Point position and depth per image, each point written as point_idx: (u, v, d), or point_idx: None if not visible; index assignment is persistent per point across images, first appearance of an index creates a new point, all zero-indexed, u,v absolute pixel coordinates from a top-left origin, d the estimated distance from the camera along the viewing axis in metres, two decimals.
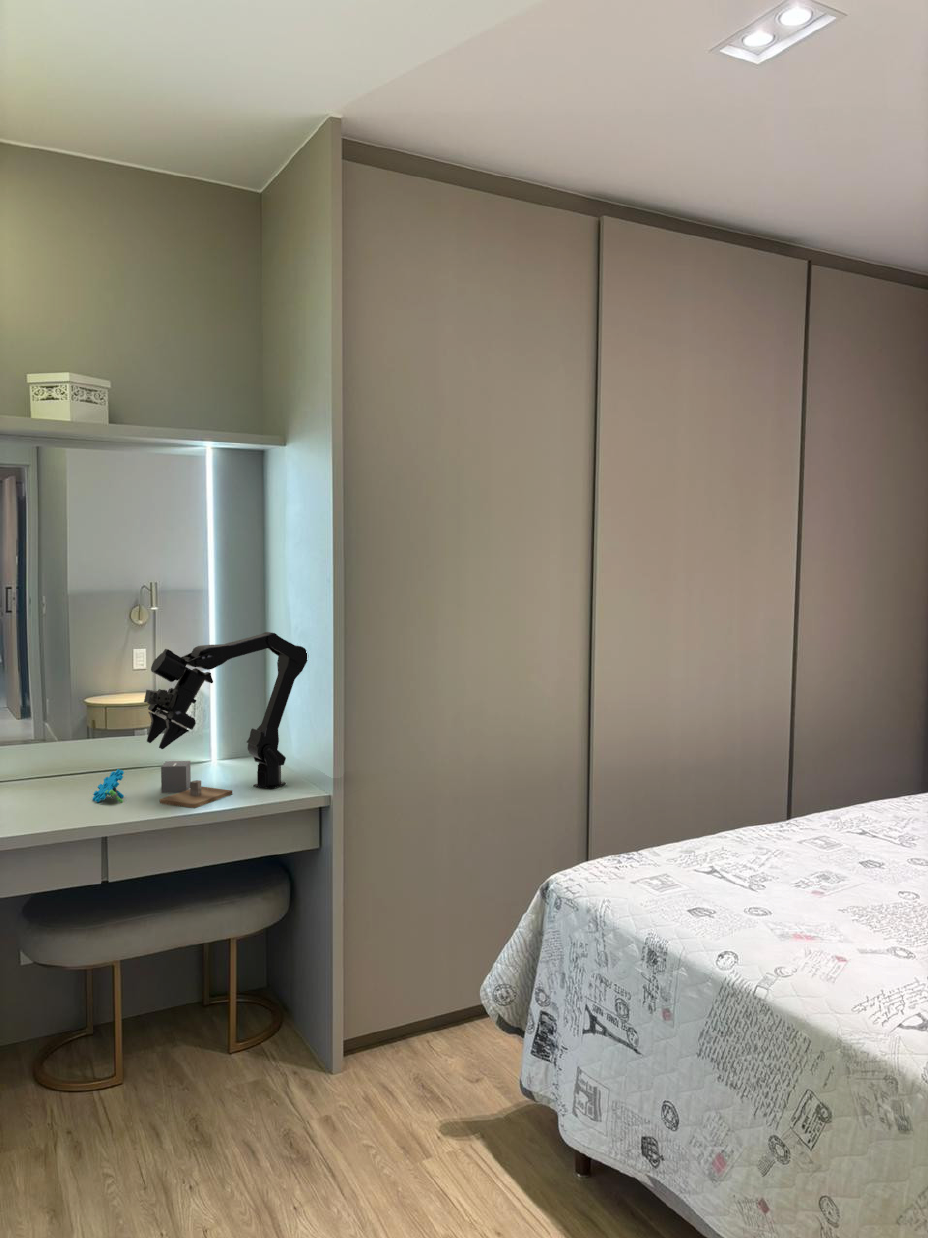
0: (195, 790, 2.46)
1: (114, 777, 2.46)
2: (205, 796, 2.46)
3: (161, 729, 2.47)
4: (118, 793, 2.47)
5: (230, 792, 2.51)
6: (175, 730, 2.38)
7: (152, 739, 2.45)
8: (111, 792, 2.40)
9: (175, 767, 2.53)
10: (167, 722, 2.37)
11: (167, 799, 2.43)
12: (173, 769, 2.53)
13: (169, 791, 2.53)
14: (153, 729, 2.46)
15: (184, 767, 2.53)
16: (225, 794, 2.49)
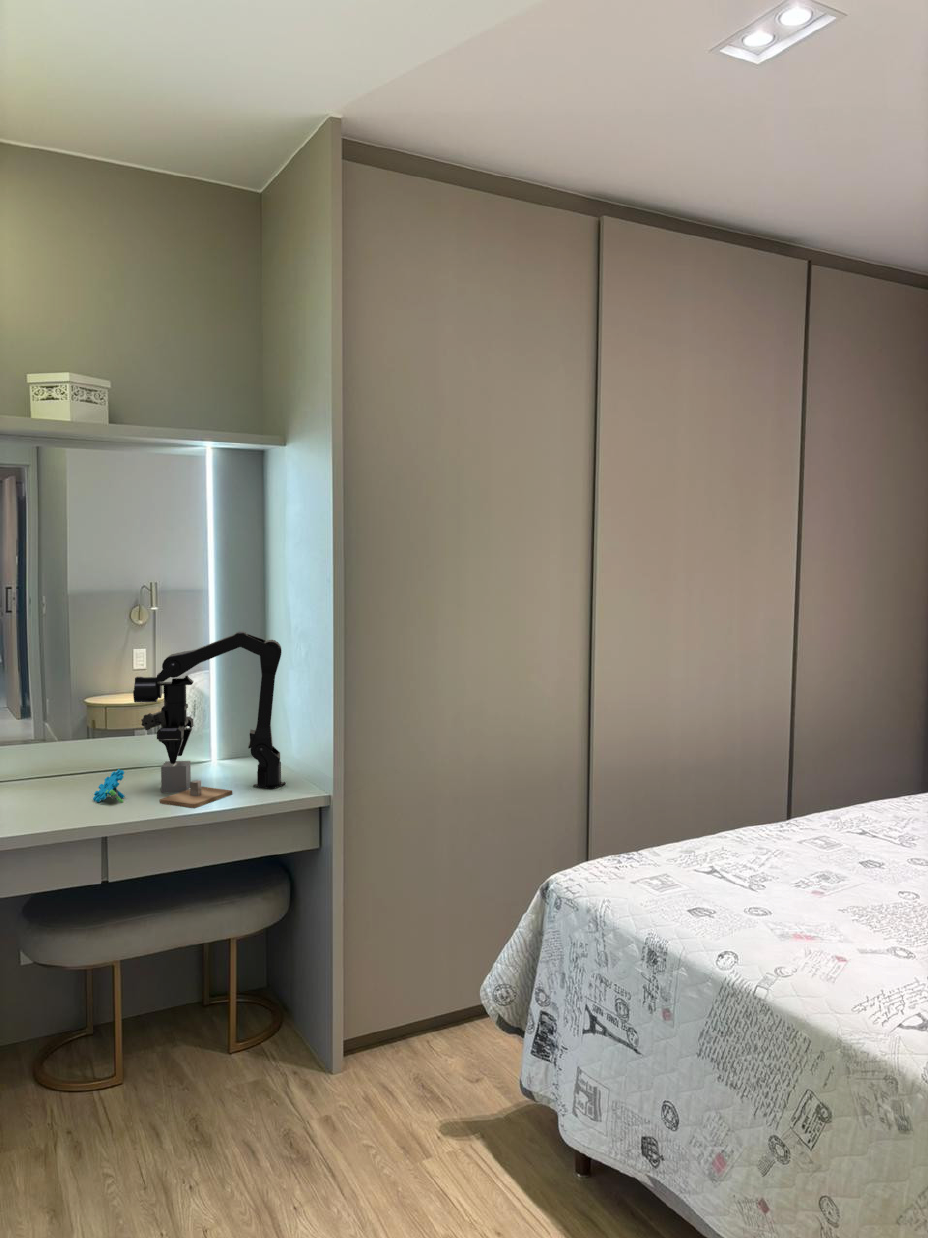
0: (195, 790, 2.46)
1: (115, 777, 2.46)
2: (205, 796, 2.46)
3: (185, 740, 2.61)
4: (119, 793, 2.47)
5: (230, 792, 2.51)
6: (173, 743, 2.50)
7: (181, 752, 2.60)
8: (111, 792, 2.40)
9: (175, 767, 2.53)
10: None
11: (167, 799, 2.43)
12: (173, 769, 2.53)
13: (169, 791, 2.53)
14: None
15: (184, 767, 2.53)
16: (225, 794, 2.49)
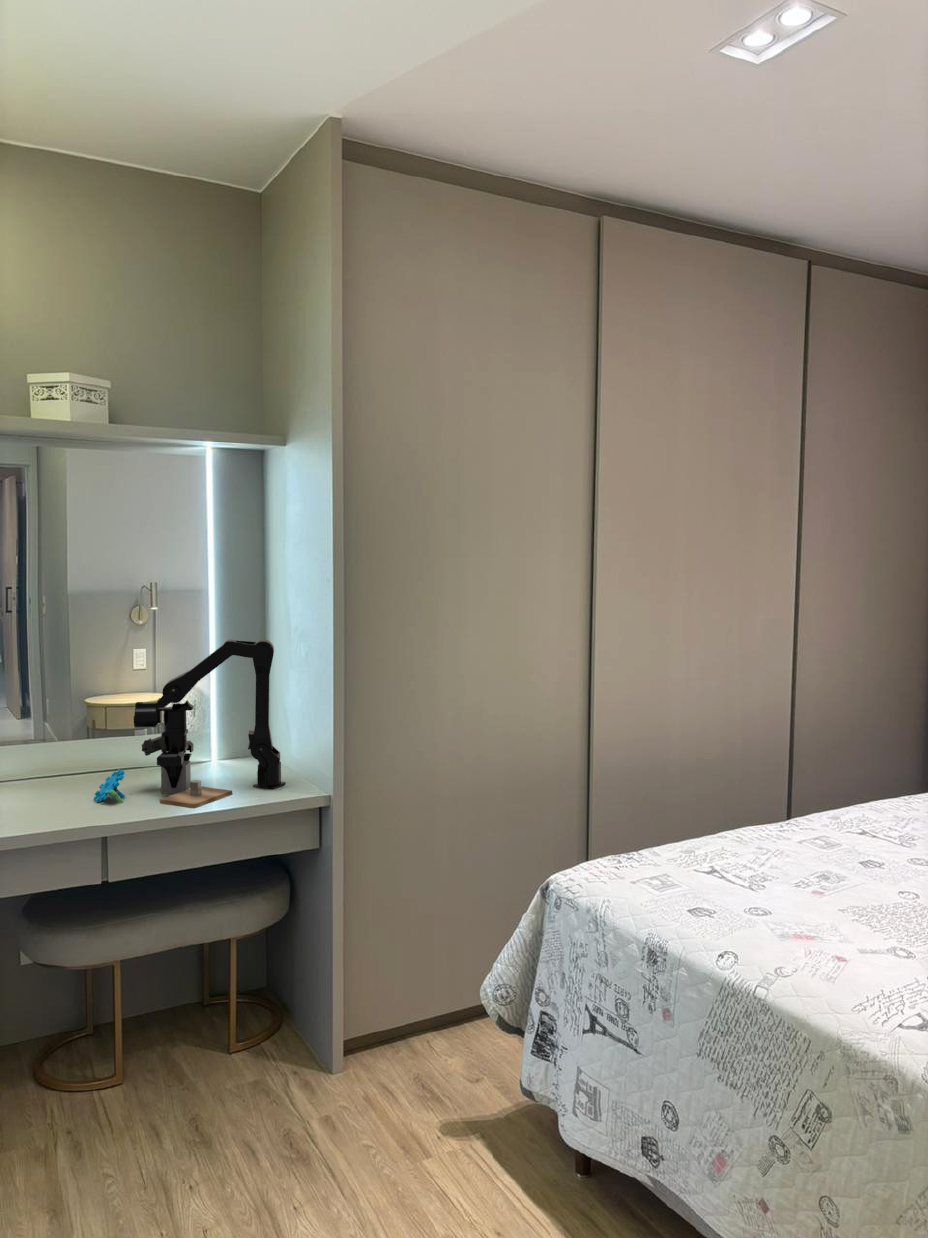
0: (195, 790, 2.46)
1: (115, 777, 2.46)
2: (205, 796, 2.46)
3: None
4: (119, 793, 2.47)
5: (230, 792, 2.51)
6: (174, 768, 2.52)
7: None
8: (111, 792, 2.40)
9: None
10: None
11: (167, 799, 2.43)
12: None
13: (169, 791, 2.53)
14: None
15: (184, 767, 2.53)
16: (225, 794, 2.49)
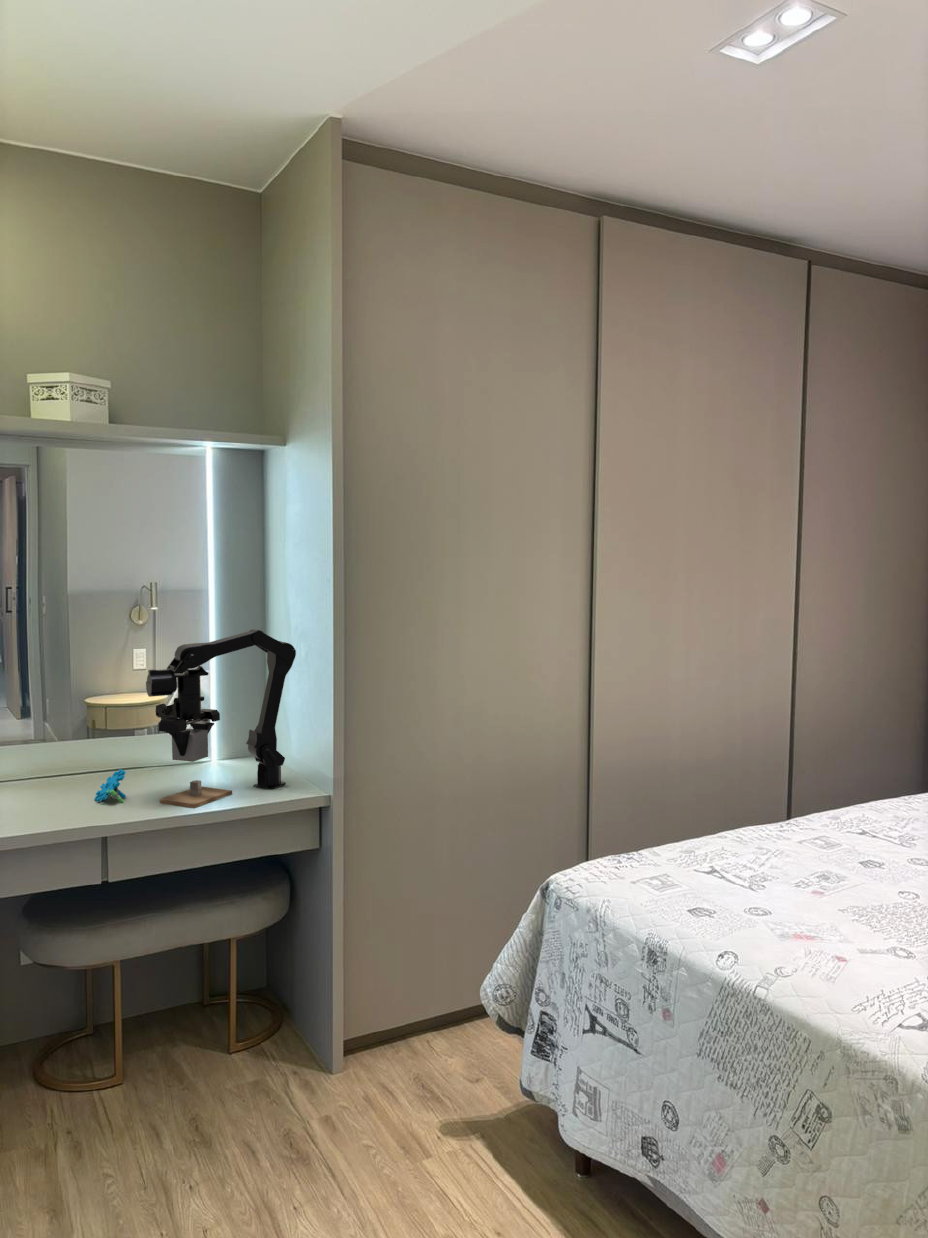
0: (195, 790, 2.46)
1: (116, 777, 2.46)
2: (205, 796, 2.46)
3: None
4: (120, 793, 2.47)
5: (230, 792, 2.51)
6: (180, 735, 2.44)
7: None
8: (112, 792, 2.40)
9: None
10: None
11: (167, 799, 2.43)
12: None
13: (179, 759, 2.47)
14: None
15: (191, 735, 2.45)
16: (225, 794, 2.49)
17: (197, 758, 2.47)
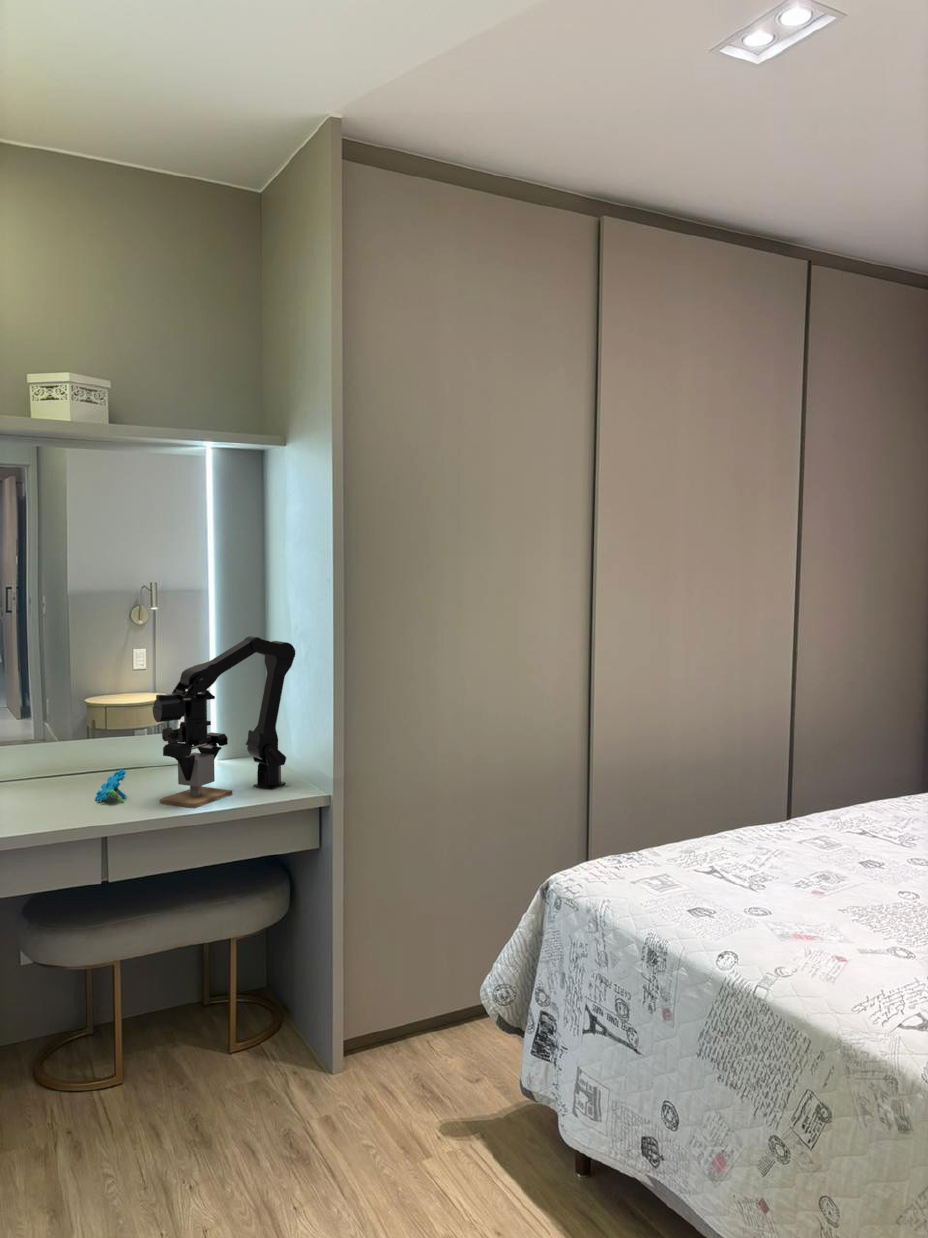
0: (195, 790, 2.46)
1: (116, 777, 2.46)
2: (205, 796, 2.46)
3: None
4: (120, 793, 2.47)
5: (230, 792, 2.51)
6: (185, 760, 2.42)
7: None
8: (112, 792, 2.40)
9: None
10: None
11: (167, 799, 2.43)
12: None
13: (184, 783, 2.45)
14: None
15: (196, 760, 2.43)
16: (225, 794, 2.49)
17: (202, 783, 2.45)
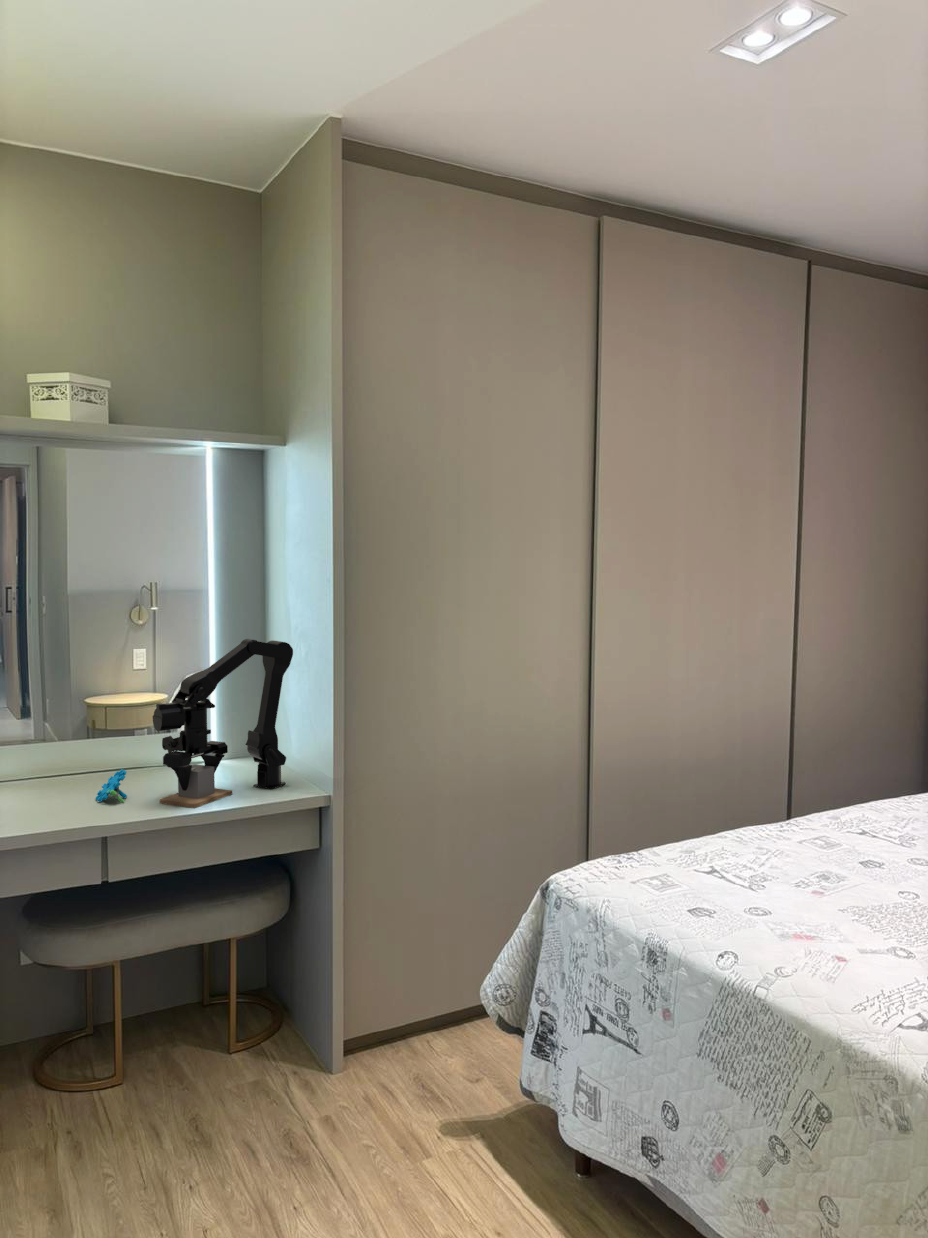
0: None
1: (117, 777, 2.46)
2: None
3: (213, 766, 2.51)
4: (121, 793, 2.47)
5: (230, 792, 2.51)
6: (182, 770, 2.41)
7: None
8: (112, 792, 2.40)
9: None
10: None
11: (167, 799, 2.43)
12: None
13: (184, 795, 2.45)
14: None
15: (196, 772, 2.43)
16: (225, 794, 2.49)
17: (202, 795, 2.45)
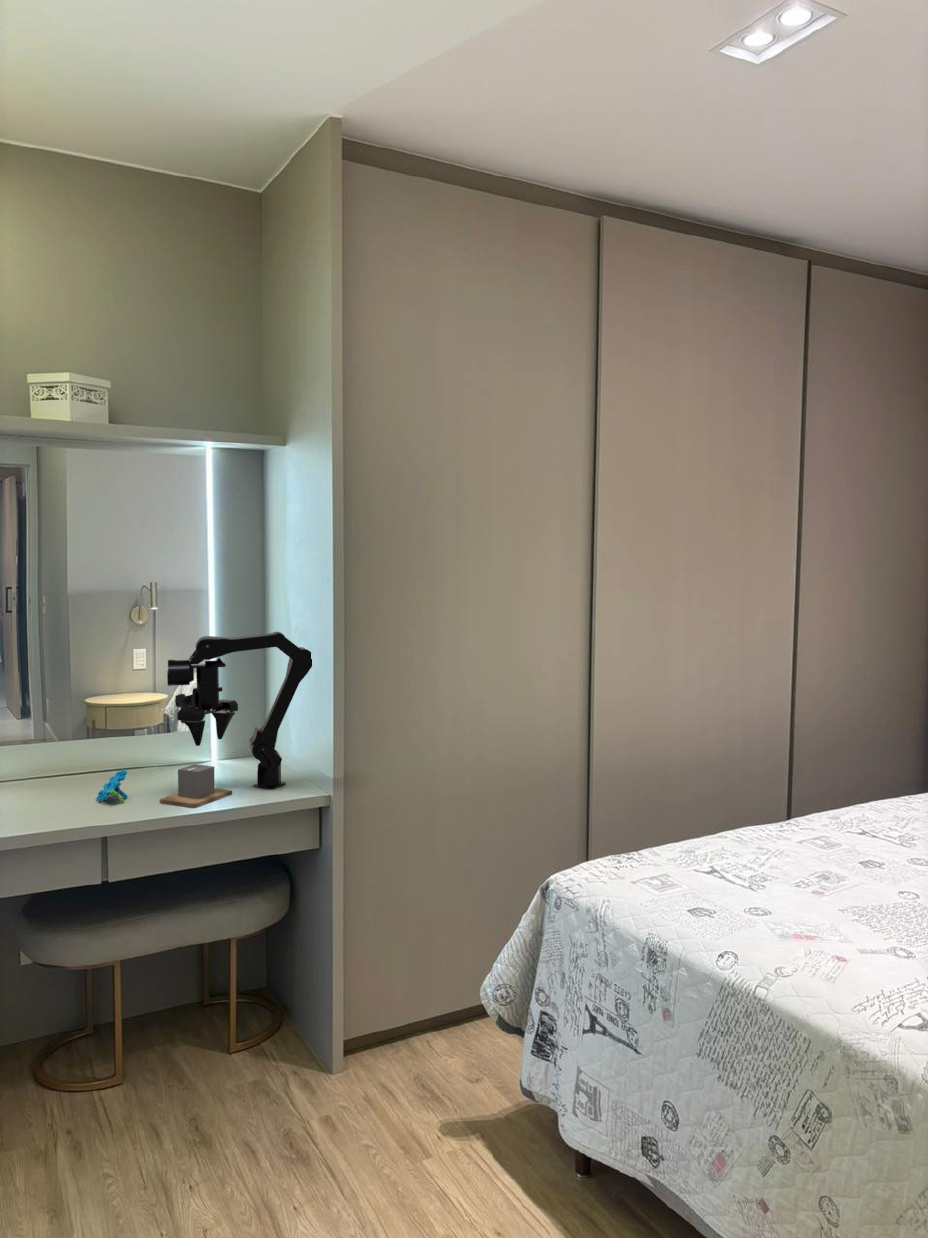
0: None
1: (117, 777, 2.46)
2: None
3: (224, 723, 2.59)
4: (122, 793, 2.46)
5: (230, 792, 2.51)
6: (196, 725, 2.49)
7: (220, 735, 2.59)
8: (112, 792, 2.40)
9: (189, 771, 2.44)
10: None
11: (167, 799, 2.43)
12: (187, 773, 2.44)
13: (184, 795, 2.45)
14: (219, 726, 2.60)
15: (196, 772, 2.43)
16: (225, 794, 2.49)
17: (202, 795, 2.45)
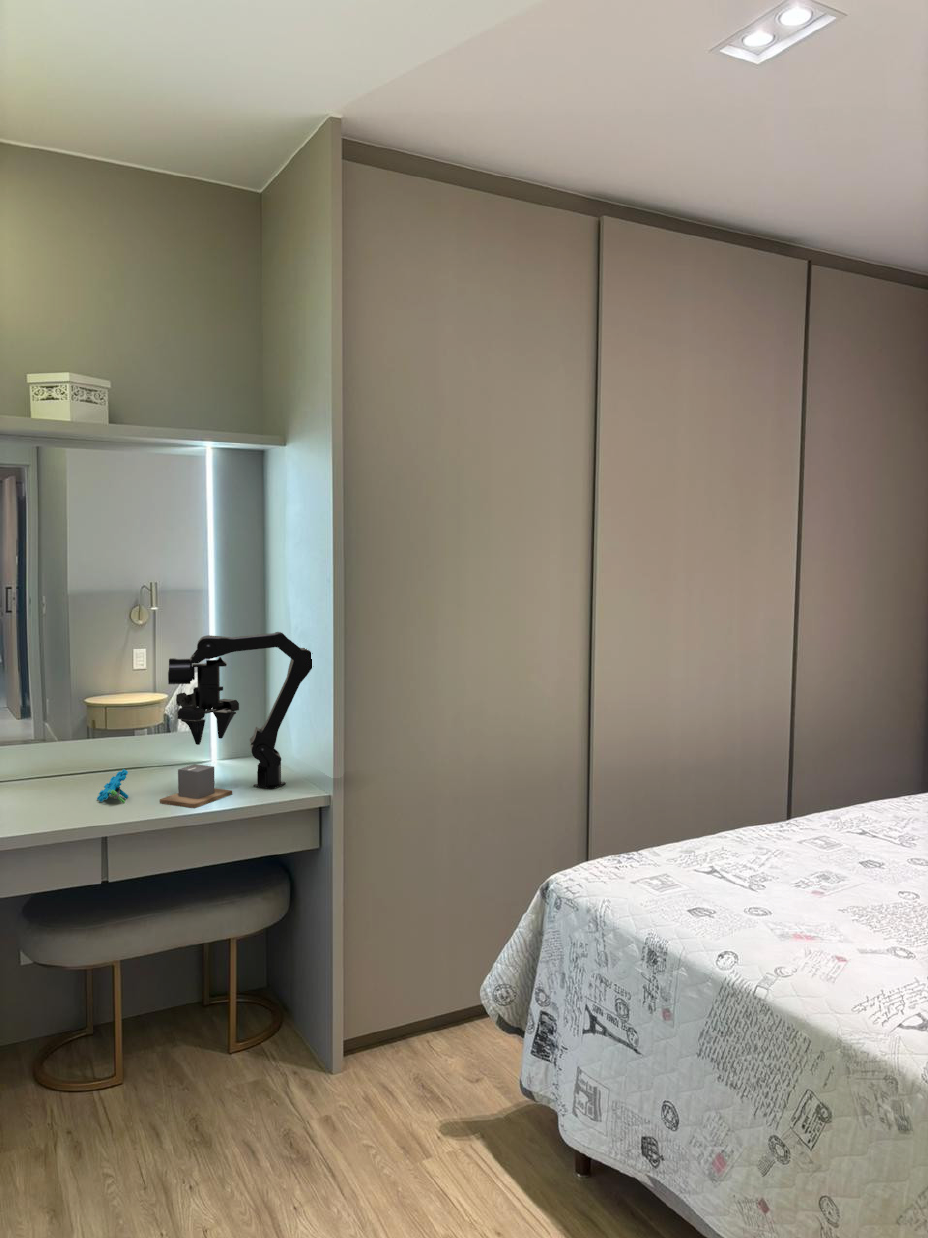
0: None
1: (118, 777, 2.46)
2: None
3: (225, 723, 2.60)
4: (122, 793, 2.46)
5: (230, 792, 2.51)
6: (196, 724, 2.50)
7: (221, 734, 2.60)
8: (112, 792, 2.40)
9: (189, 771, 2.44)
10: None
11: (167, 799, 2.43)
12: (187, 773, 2.44)
13: (184, 795, 2.45)
14: (219, 725, 2.60)
15: (196, 772, 2.43)
16: (225, 794, 2.49)
17: (202, 795, 2.45)
